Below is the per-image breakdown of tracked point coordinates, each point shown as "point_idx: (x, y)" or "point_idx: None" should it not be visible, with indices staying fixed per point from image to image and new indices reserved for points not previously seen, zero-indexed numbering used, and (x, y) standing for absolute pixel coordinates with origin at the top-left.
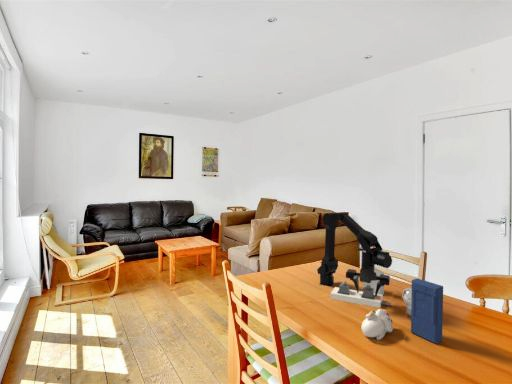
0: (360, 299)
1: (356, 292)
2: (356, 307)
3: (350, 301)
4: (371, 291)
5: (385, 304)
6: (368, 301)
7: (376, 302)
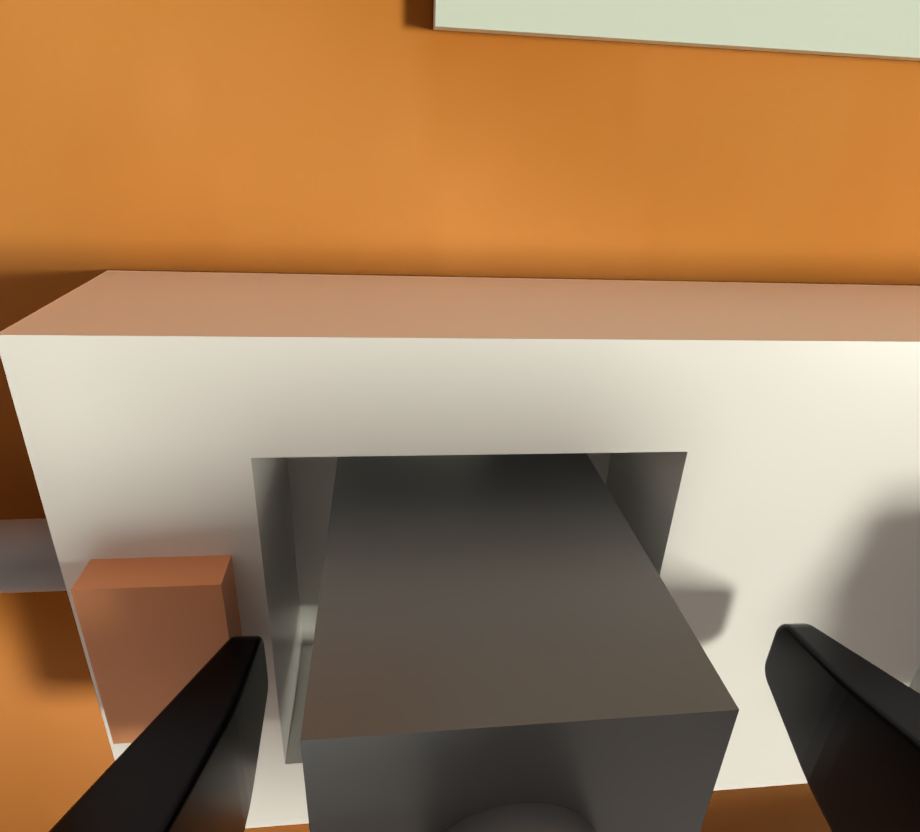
0: (699, 328)
1: None
2: (729, 107)
3: (901, 301)
4: (357, 720)
5: (19, 520)
6: (437, 322)
7: (160, 327)
